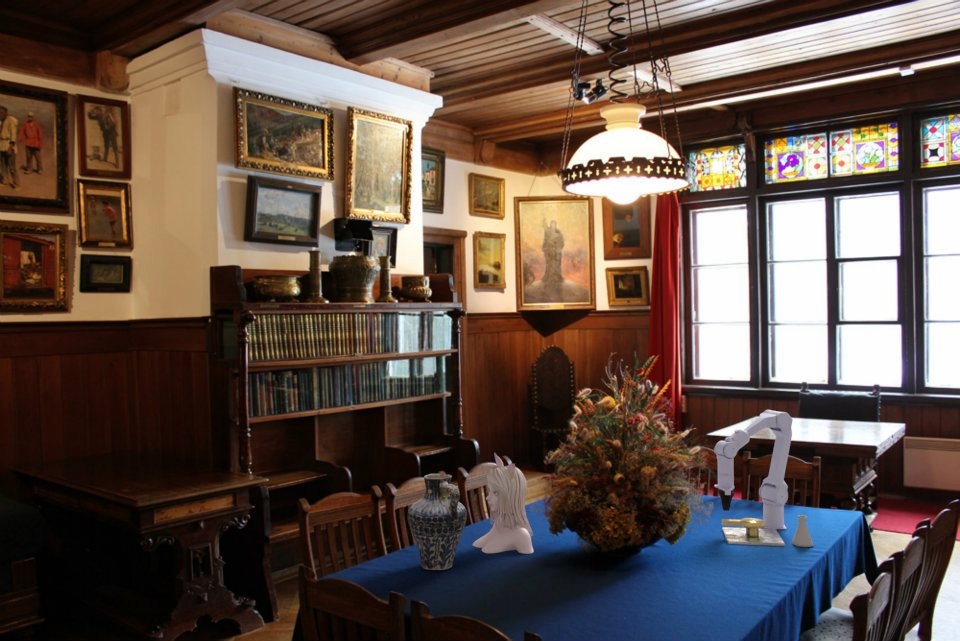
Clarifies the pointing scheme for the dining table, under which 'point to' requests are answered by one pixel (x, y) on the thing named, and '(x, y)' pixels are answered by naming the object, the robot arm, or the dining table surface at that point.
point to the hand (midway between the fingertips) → (726, 510)
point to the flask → (802, 533)
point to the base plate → (744, 538)
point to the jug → (437, 522)
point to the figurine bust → (506, 511)
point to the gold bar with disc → (746, 524)
